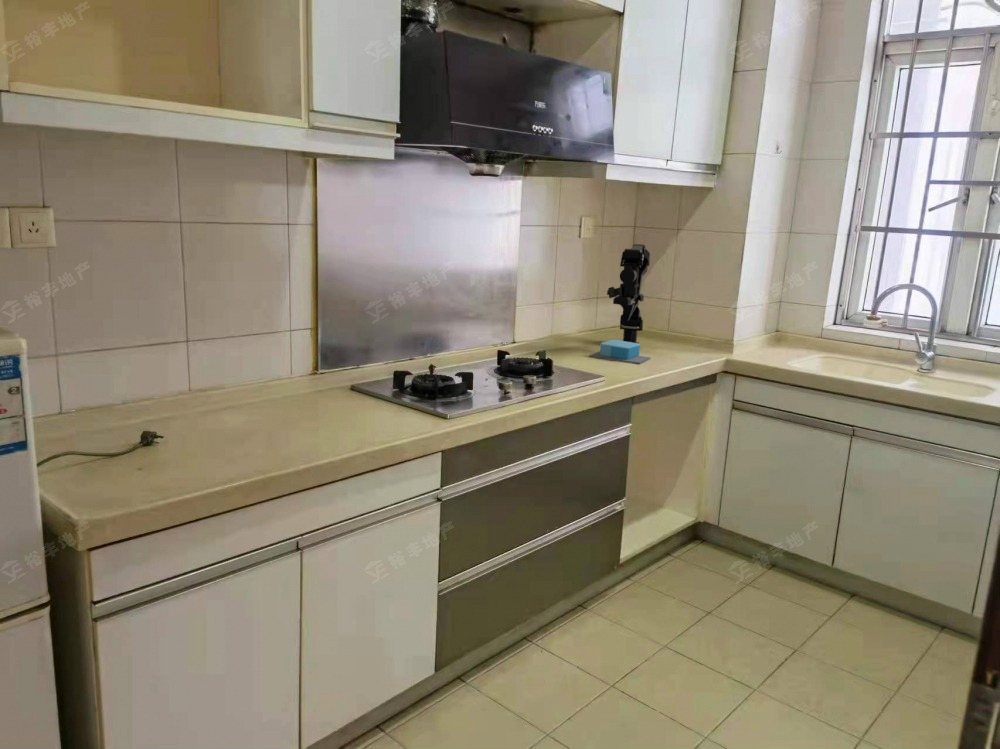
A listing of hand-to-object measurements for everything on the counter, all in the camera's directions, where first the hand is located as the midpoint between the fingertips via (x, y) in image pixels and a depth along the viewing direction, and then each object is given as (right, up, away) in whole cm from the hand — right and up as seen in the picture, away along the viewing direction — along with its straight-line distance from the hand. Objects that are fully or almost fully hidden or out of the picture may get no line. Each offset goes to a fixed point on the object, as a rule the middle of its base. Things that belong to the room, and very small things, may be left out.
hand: (626, 320), depth 298 cm
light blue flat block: (-1, -11, -6) cm, 12 cm away
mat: (-5, -15, -12) cm, 20 cm away
